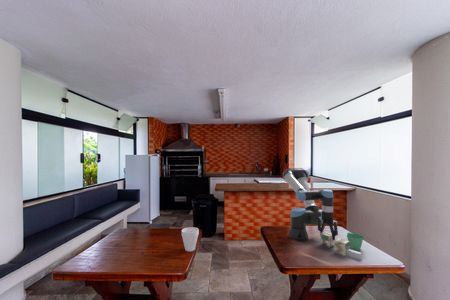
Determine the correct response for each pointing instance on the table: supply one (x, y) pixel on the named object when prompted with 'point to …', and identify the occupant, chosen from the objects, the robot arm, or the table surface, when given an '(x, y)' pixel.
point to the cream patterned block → (326, 238)
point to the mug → (355, 240)
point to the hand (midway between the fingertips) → (327, 242)
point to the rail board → (353, 255)
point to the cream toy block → (341, 246)
